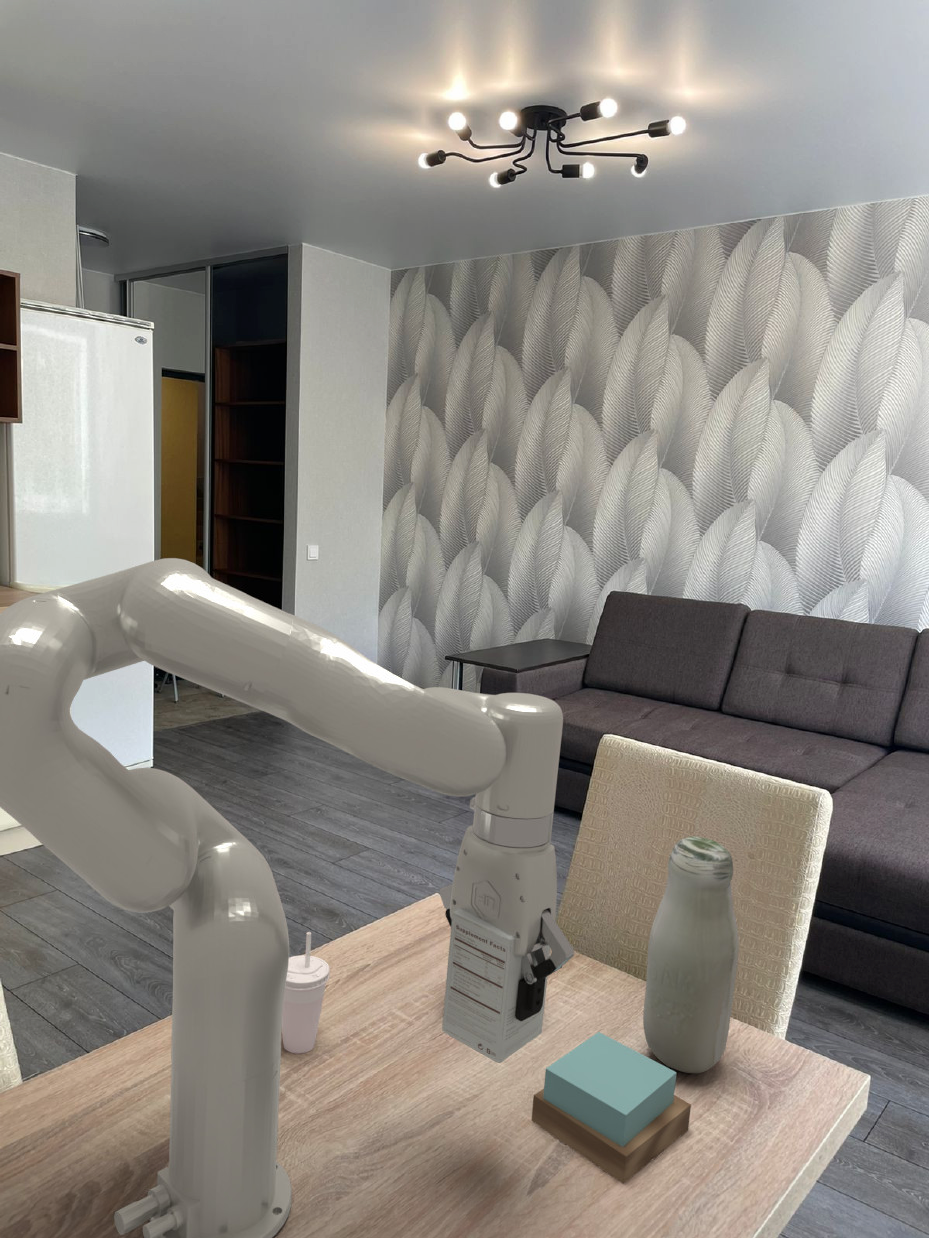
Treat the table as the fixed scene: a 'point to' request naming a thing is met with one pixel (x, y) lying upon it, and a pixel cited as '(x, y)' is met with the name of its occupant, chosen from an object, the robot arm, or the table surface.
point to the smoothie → (303, 1000)
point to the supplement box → (486, 989)
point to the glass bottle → (692, 959)
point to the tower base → (606, 1151)
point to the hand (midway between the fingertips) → (495, 994)
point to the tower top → (610, 1087)
